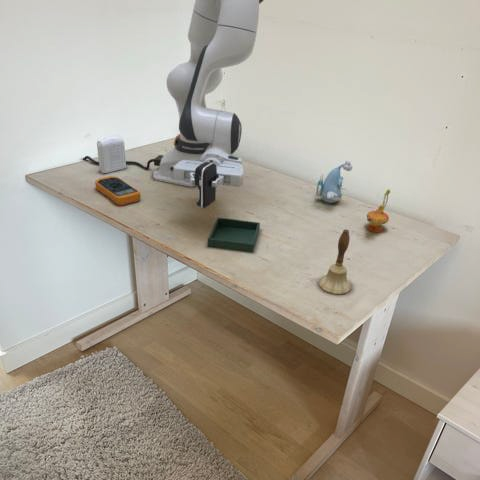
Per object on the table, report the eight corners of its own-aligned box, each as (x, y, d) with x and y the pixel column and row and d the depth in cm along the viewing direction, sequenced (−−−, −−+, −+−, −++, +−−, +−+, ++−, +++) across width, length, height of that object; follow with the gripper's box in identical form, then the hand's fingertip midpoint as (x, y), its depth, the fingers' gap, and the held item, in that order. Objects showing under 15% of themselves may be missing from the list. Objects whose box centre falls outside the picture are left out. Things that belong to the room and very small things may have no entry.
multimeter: (116, 183, 175) (115, 174, 173) (142, 201, 165) (141, 191, 163) (93, 188, 171) (92, 179, 169) (119, 207, 160) (118, 197, 158)
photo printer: (121, 165, 189) (118, 132, 182) (128, 168, 187) (125, 135, 180) (98, 171, 183) (93, 137, 176) (104, 174, 181) (100, 140, 174)
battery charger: (204, 197, 145) (205, 159, 138) (216, 200, 143) (217, 162, 136) (192, 206, 140) (192, 166, 133) (204, 209, 138) (204, 169, 131)
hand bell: (316, 276, 133) (326, 222, 123) (346, 277, 134) (358, 223, 124) (322, 294, 126) (332, 238, 117) (353, 294, 127) (367, 239, 117)
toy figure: (344, 213, 166) (353, 170, 157) (313, 209, 167) (319, 166, 158) (346, 194, 179) (354, 153, 170) (317, 190, 180) (323, 149, 171)
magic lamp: (353, 237, 152) (360, 204, 146) (372, 217, 165) (379, 185, 158) (374, 244, 150) (383, 210, 143) (392, 222, 162) (400, 190, 156)
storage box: (207, 246, 143) (207, 238, 141) (217, 225, 154) (217, 217, 153) (253, 252, 142) (253, 244, 140) (259, 230, 153) (260, 222, 151)
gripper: (179, 151, 146) (166, 168, 136) (247, 159, 145) (240, 176, 134) (179, 172, 150) (167, 190, 139) (246, 180, 149) (239, 198, 138)
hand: (203, 183), depth 137 cm, fingers closed on battery charger, 4 cm apart
